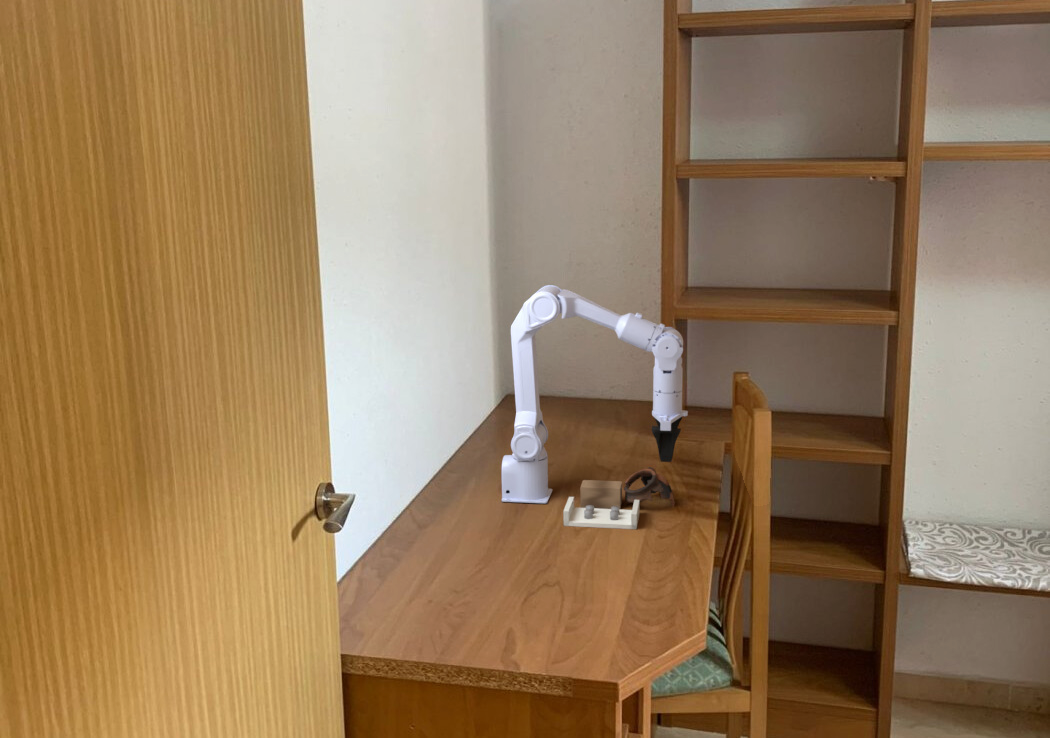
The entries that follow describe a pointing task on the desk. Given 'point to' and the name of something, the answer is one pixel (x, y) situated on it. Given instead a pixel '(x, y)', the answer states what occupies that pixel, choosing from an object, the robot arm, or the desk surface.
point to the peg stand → (600, 516)
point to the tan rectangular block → (601, 494)
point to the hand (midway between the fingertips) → (666, 455)
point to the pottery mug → (648, 486)
